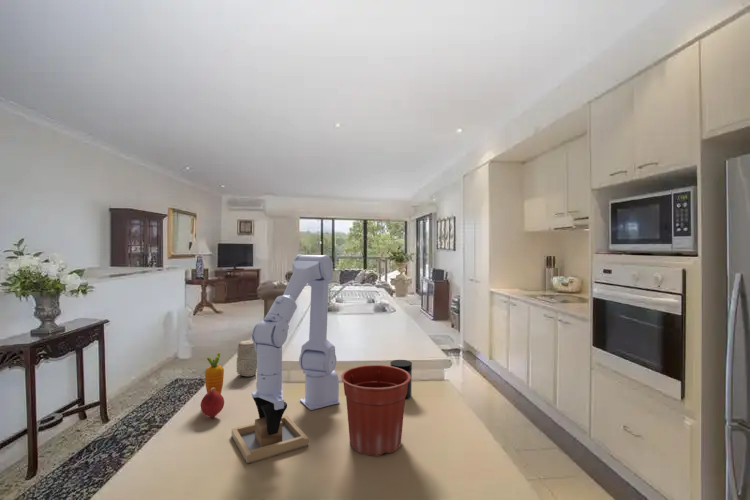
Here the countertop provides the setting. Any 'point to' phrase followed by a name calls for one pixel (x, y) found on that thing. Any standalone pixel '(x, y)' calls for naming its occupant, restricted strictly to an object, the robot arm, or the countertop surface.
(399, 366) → the supplement container
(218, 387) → the carrot
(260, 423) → the walnut block
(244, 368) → the carving
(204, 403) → the onion
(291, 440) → the slate tray
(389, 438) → the flower pot
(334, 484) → the countertop surface
